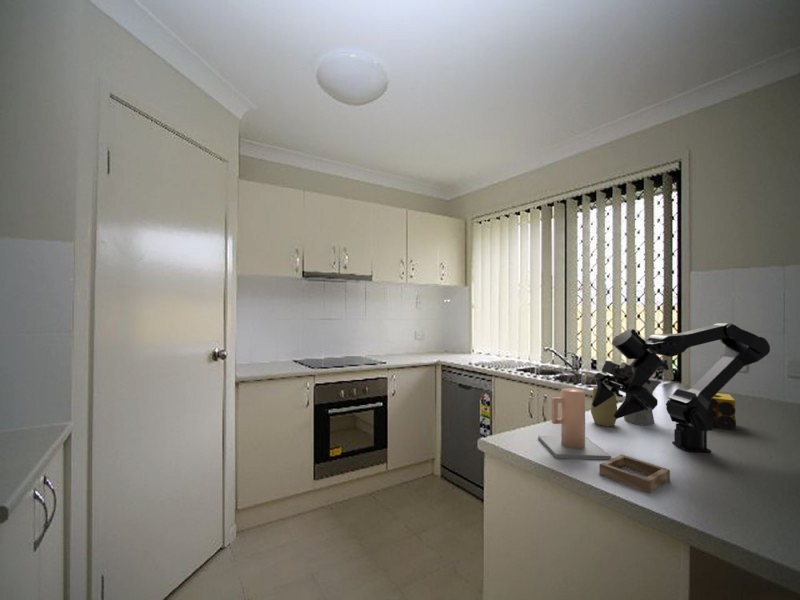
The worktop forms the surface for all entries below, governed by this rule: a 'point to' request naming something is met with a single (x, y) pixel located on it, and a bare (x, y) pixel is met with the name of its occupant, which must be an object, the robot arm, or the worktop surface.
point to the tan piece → (570, 417)
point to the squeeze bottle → (604, 410)
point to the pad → (564, 452)
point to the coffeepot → (645, 415)
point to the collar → (648, 484)
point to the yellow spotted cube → (722, 411)
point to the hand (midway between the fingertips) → (603, 411)
